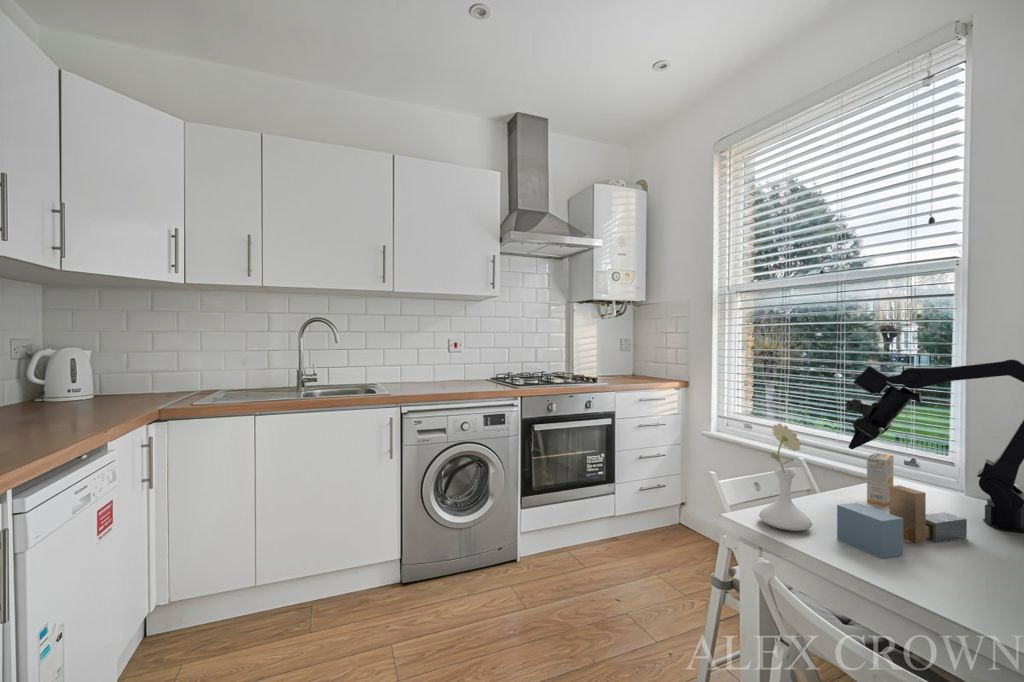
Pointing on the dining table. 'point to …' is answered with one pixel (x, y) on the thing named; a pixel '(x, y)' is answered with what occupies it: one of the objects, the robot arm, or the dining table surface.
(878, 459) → the supplement box
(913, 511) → the upright wooden plank
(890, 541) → the blue-grey rectangular block
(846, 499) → the dining table surface
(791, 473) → the flower in vase
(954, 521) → the outer sleeve
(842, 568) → the dining table surface
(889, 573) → the dining table surface
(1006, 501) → the robot arm
